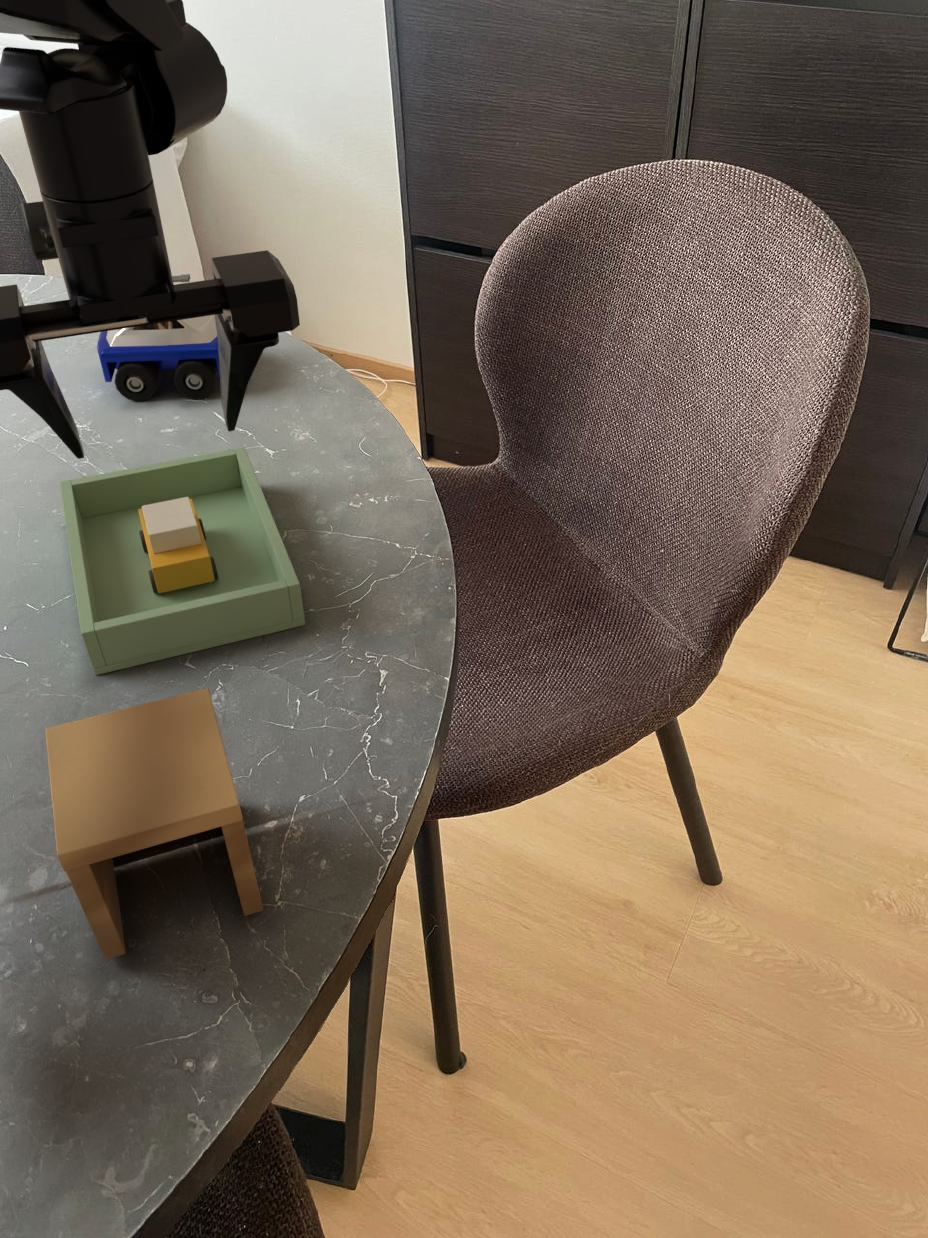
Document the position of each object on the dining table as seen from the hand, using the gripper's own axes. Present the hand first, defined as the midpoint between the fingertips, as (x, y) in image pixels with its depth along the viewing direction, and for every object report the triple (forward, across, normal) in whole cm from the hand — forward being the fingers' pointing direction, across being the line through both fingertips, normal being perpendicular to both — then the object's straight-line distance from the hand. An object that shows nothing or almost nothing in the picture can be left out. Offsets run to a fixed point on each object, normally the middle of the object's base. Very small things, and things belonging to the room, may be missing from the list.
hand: (156, 441), depth 63 cm
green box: (+11, 0, -1) cm, 11 cm away
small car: (+11, 0, -1) cm, 11 cm away
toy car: (+12, -4, -30) cm, 33 cm away
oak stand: (+11, +5, +24) cm, 27 cm away
